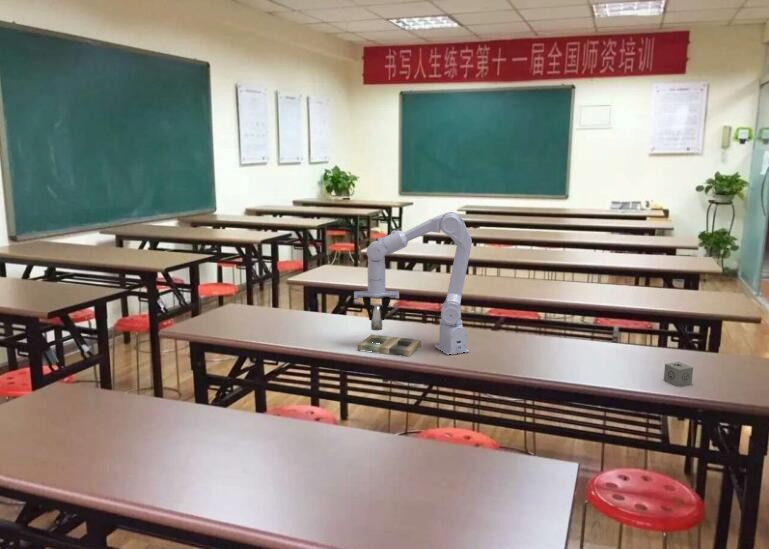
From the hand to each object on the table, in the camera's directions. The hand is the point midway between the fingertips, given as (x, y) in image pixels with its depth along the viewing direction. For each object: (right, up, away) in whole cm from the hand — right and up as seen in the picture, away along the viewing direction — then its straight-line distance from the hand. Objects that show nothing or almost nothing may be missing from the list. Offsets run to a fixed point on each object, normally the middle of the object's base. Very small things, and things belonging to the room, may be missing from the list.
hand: (376, 319), depth 204 cm
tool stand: (+4, -9, 0) cm, 10 cm away
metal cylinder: (0, -3, +1) cm, 3 cm away
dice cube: (+84, -16, -30) cm, 91 cm away
